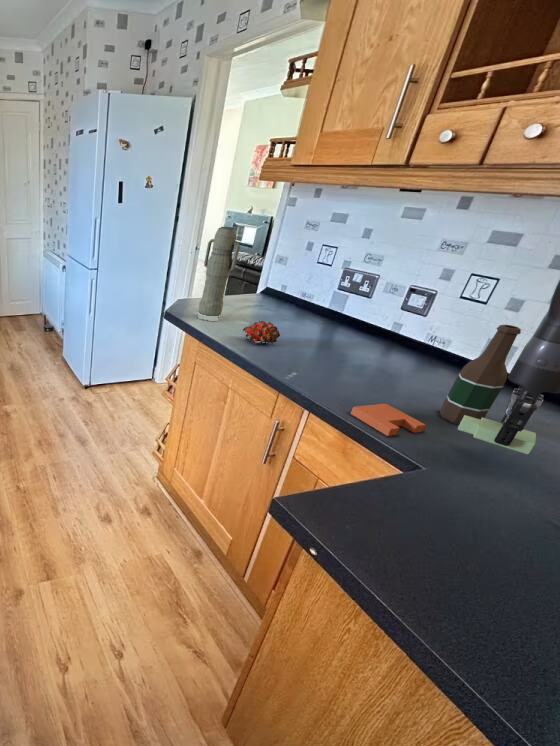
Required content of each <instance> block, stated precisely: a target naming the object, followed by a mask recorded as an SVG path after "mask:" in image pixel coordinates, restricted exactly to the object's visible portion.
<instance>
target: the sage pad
mask: <svg viewBox="0 0 560 746" xmlns="http://www.w3.org/2000/svg"><path fill="white" fill-rule="evenodd" d="M502 425H503V424H502V423H500V422H499V421H496V420H492V419H488V418H486V417H485V418H481V420H480V419H477V418H473V417H470V416H466V415H464V417H463V419H462V421H461V423H460V425H459V424H458V427H457V430H458V431H460V432H464V433H467V434H470V435H473V437H472V438H474V439H477V440H481V441H484V442H487V443H490V444H493V445H496V446H498V447H499V446H500V447H501V448H502V447H503V448H505V449H509V450H513V451H515V452H519V453H522V454H525V455H530V453H531V452H532V450H533V448H534V447H535V445H536V438H537V433H536V432H533V431H530V430H527V429H525V428H524V429H523V430H522V431H521V432H520V431H518V432H517V434H516V436H515V437H514V439H513V440H512V442H511V444H510V445H509V446H504V445H501V444H498V443H495V442H494V439H495V437H496V436H497V434H498V432H499V431H500V429H501V427H502Z"/></svg>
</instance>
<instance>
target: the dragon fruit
mask: <svg viewBox="0 0 560 746" xmlns="http://www.w3.org/2000/svg"><path fill="white" fill-rule="evenodd" d="M242 332H244V333H245V334H244V337H245V336H246V337H245V338H247V337H248V336H249V338H250V339H249V340H251V342H254V344H256V345H258V344H259V343H256V342H255V341H261V342H260V343H261V344H262V345H268V343H270V344H271V343H273V342H274V343H276V342H277V341H278V340H277V339H279V338H280V337H281V334H280V331H279V329H278V327H277V326H275V325H274V324H273V323H272V322H271V321H268V322H266V321H264V320H258V322H257V321H256V322H254V323H253V324H250V325H248V326H245V327H244V328H243V329H242ZM253 339H255V340H253ZM262 342H265V343H262ZM266 342H268V343H266Z"/></svg>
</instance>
